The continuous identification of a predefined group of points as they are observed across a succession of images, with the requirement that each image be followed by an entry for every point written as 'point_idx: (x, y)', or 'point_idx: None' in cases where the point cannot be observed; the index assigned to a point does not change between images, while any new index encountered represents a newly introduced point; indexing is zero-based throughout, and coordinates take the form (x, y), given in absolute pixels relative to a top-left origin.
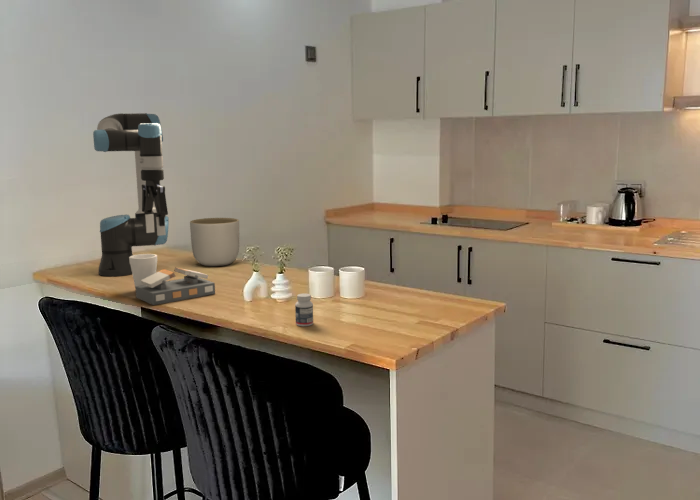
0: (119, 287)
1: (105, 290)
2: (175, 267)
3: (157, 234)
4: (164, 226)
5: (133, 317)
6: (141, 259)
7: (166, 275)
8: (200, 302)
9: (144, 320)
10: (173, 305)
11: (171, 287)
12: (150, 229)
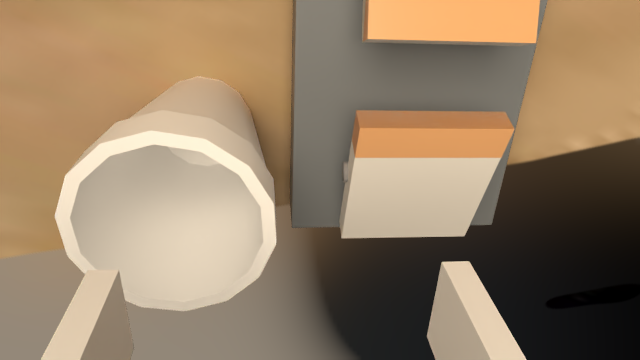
0: (14, 178)
1: (50, 245)
2: (374, 39)
3: (436, 346)
4: (516, 356)
5: (552, 299)
6: (263, 267)
7: (485, 164)
8: (614, 18)
9: (613, 287)
10: (544, 137)
11: (461, 109)
12: (114, 345)
